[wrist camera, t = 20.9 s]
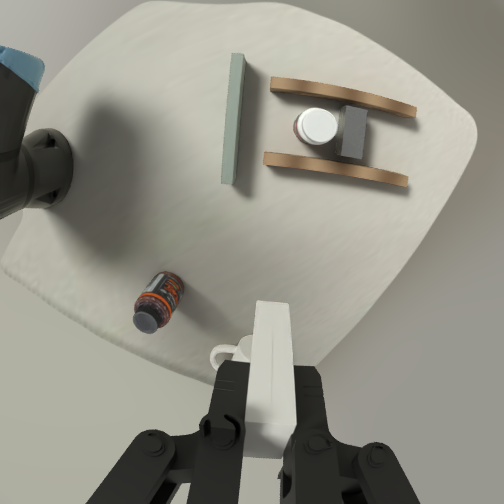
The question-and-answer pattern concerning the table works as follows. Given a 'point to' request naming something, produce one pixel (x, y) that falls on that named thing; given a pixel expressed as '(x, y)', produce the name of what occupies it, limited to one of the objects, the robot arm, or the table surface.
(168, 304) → the supplement bottle
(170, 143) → the table surface
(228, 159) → the door edge rail
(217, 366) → the mug
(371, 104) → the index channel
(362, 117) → the tall gray brick
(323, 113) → the pill bottle
